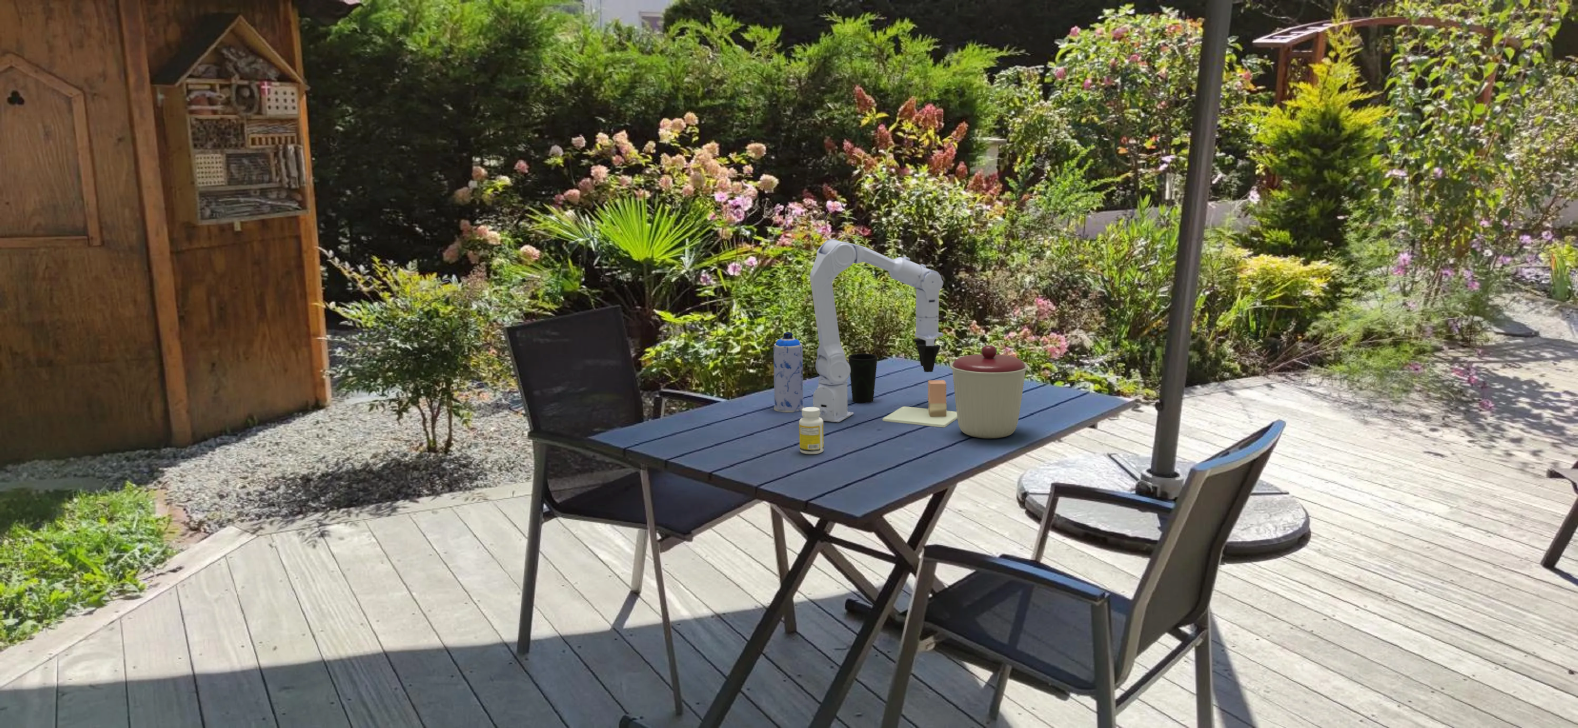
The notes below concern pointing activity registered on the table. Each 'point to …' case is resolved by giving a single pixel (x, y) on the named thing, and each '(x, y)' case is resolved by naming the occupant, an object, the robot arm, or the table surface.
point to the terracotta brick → (936, 391)
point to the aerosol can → (788, 374)
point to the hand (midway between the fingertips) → (926, 368)
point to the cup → (862, 376)
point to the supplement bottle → (811, 431)
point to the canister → (988, 393)
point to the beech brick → (937, 409)
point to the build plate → (920, 417)
